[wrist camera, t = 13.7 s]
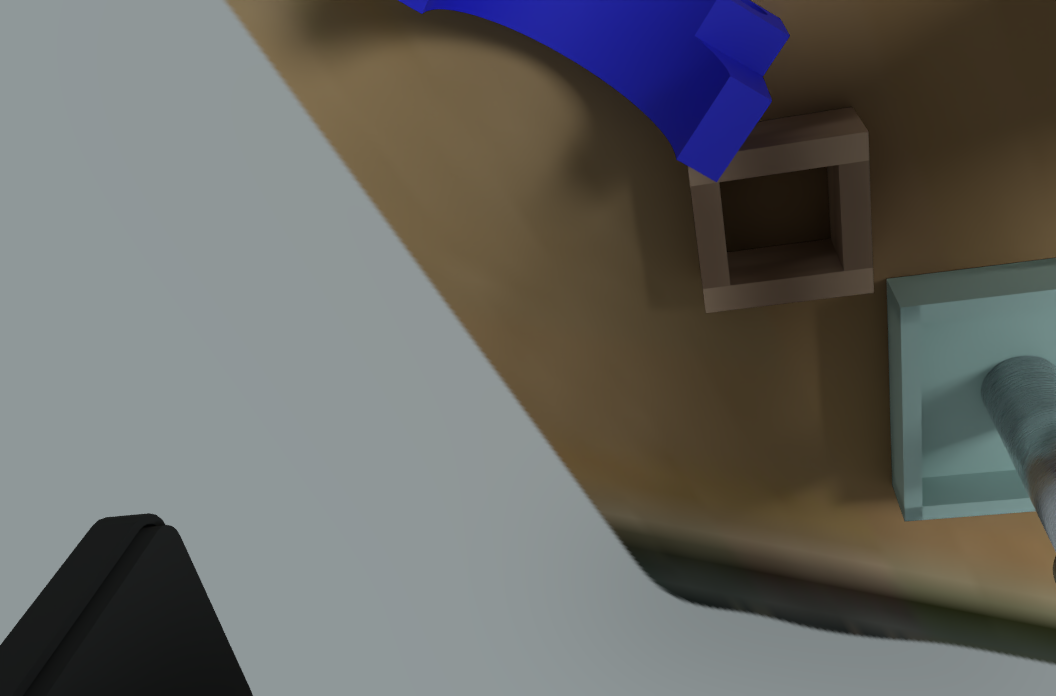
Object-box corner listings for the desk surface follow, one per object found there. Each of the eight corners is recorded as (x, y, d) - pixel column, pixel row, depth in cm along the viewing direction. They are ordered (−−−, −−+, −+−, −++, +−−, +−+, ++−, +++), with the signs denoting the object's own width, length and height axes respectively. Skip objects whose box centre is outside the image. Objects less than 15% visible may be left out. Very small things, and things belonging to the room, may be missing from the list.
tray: (1168, 244, 36) (1200, 272, 34) (1142, 463, 41) (1170, 500, 39) (886, 278, 38) (900, 307, 36) (892, 484, 43) (904, 521, 41)
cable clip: (779, 17, 34) (801, 57, 29) (707, 127, 36) (716, 182, 31) (475, -167, 33) (441, -161, 27) (418, -41, 35) (377, -12, 29)
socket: (852, 106, 35) (868, 131, 33) (858, 259, 38) (873, 292, 35) (684, 133, 36) (686, 158, 34) (702, 278, 39) (705, 313, 37)
